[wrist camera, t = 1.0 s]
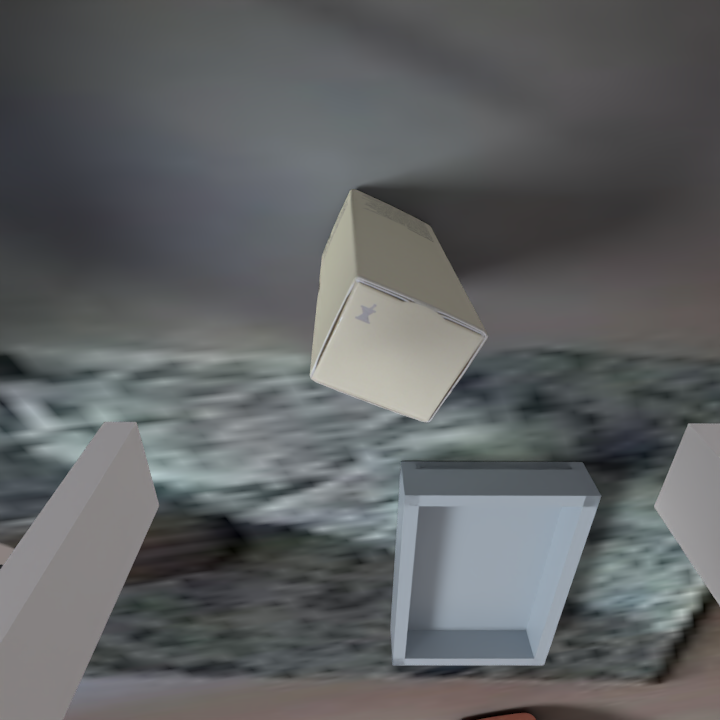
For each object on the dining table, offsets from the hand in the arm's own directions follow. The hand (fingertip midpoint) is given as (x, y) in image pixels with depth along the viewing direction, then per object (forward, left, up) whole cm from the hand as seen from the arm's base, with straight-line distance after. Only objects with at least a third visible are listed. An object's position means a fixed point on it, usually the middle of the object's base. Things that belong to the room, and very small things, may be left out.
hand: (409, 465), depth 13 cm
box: (0, 0, -18) cm, 18 cm away
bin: (+8, -26, -18) cm, 33 cm away
